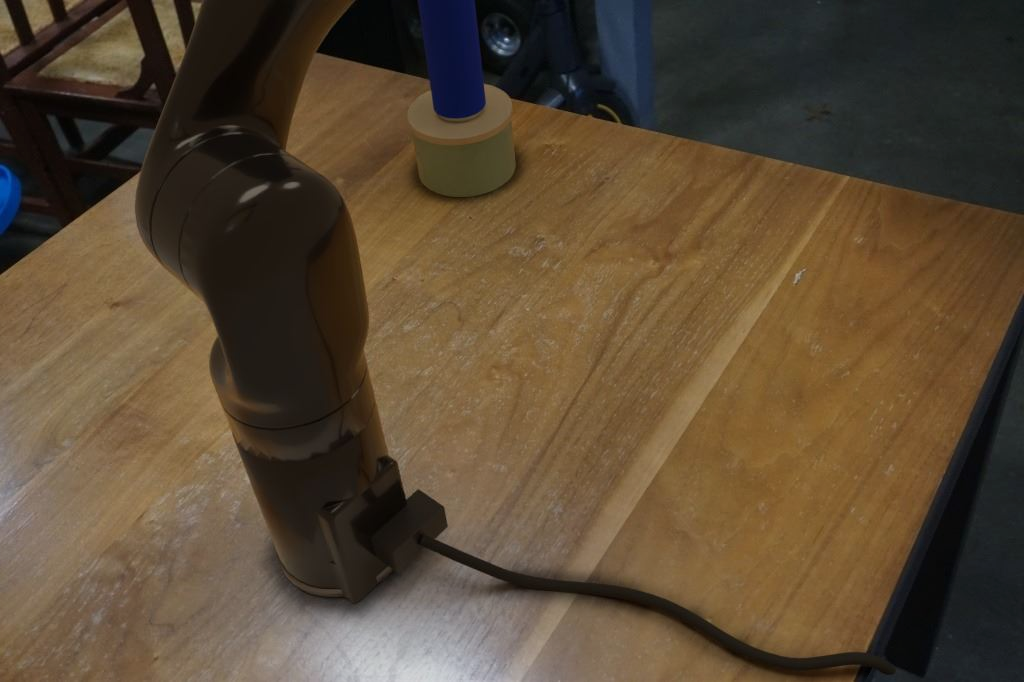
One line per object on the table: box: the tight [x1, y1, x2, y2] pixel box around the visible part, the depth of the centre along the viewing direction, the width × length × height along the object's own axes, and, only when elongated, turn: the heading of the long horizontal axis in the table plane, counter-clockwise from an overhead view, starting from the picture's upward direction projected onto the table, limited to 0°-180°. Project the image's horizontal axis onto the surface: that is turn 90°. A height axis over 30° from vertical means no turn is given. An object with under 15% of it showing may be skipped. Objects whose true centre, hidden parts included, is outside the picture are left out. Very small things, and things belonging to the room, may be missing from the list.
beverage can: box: [417, 0, 486, 122], centre depth 103 cm, size 5×5×15 cm
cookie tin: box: [406, 83, 517, 198], centre depth 111 cm, size 10×10×7 cm
